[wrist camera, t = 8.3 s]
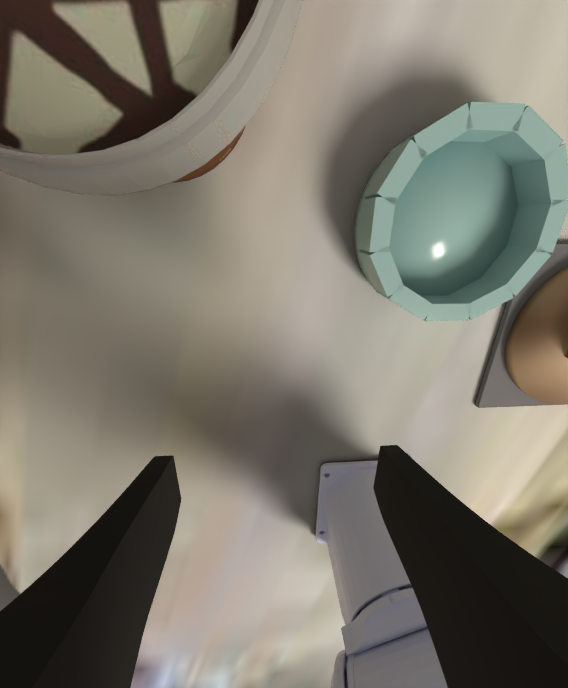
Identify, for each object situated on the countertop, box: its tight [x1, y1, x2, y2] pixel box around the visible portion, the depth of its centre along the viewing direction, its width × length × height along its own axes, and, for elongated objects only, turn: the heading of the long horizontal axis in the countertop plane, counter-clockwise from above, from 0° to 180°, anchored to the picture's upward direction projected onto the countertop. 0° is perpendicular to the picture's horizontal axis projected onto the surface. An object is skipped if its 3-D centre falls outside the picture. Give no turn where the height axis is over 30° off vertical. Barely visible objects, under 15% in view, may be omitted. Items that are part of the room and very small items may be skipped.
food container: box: [0, 0, 303, 195], centre depth 10 cm, size 12×6×10 cm, turn 75°
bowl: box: [354, 102, 568, 321], centre depth 16 cm, size 10×10×3 cm
